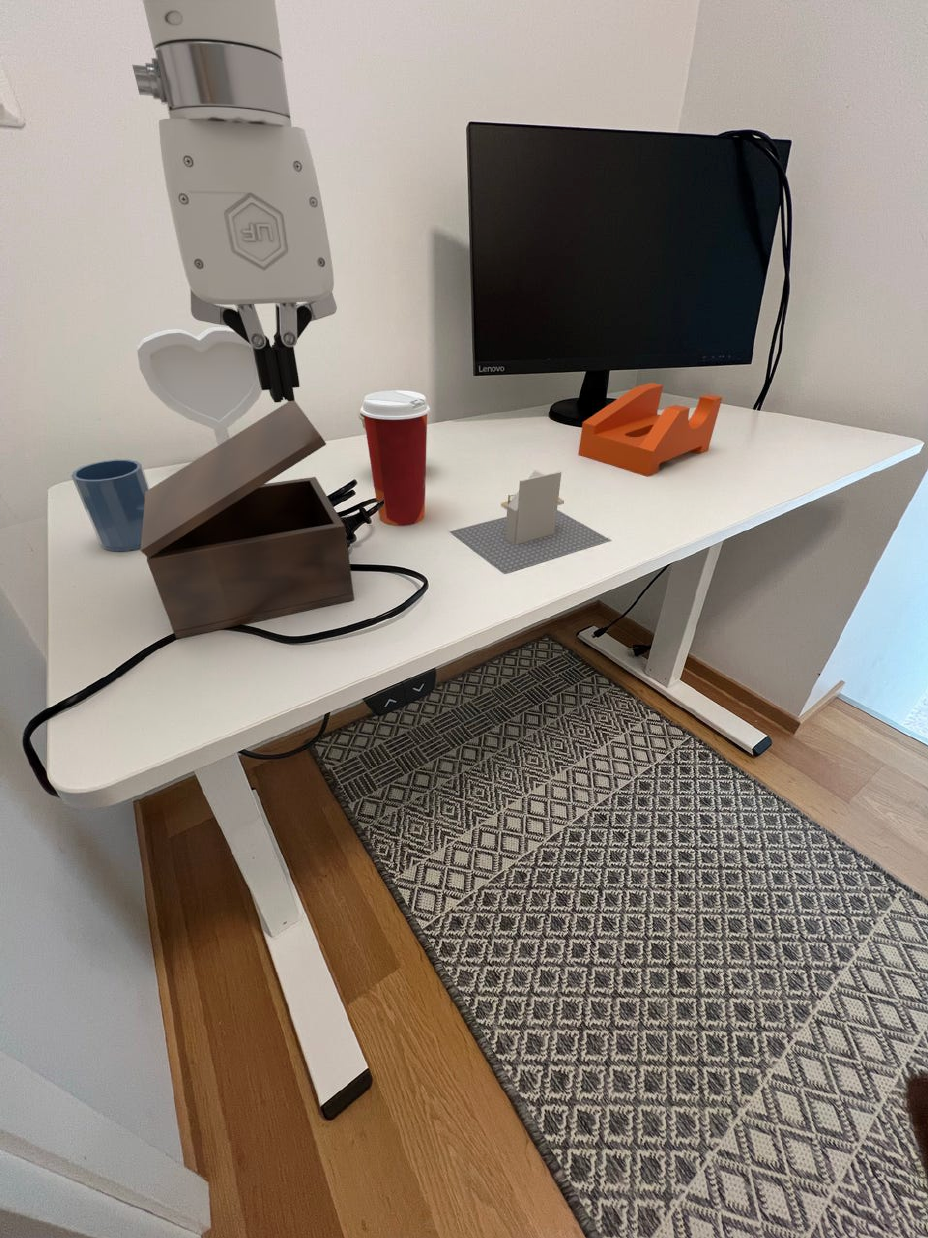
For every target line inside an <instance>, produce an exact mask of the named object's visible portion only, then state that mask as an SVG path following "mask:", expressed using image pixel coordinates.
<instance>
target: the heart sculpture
mask: <svg viewBox="0 0 928 1238" xmlns="http://www.w3.org/2000/svg"><path fill="white" fill-rule="evenodd" d="M136 350H137V351H136V352H137V358H138V365H139V370H140V371H141V374H142V376H143V378H144V380H145V382H146V384H147V386H148V388H149V390H150V391H151V392H152V394H154V395H155V396H156V397H157V398H158V399H159V400H160V401H161V402H162V403H163V404H164V405H165V406H166V407H167V408H168V409H170V410H172V411H174V412H175V413H177V414H179V415H181V416H182V417H184V418H186V419H188V420H190V421H193V422H195V423H198V424H199V425H202V426H206V427H207V428H210V429H212V430H213V431H214V435H215V439H216V443H217V446H219V445H220V444H222V443H224V442H225V441H227V440H228V439H230V438H231V437H230V435H229V430H228V429H229V428H230V427H231V426H232V425H233V424H235V423H236V422H237V421H239V419H241V418H242V417H243V416H245V415H246V414H247V413H248V412H249V410H250V409H251V408H252V407H253V406H255V404H256V403H257V401H258V400H259V399H260V397H261V394H262V392H263V390H262V389H261V386H260V382H259V377H258V372H257V367H256V362H255V357H254V352H253V347H252V345H251V344H249V343H248V342H247V341H246V340H244V339H243V338H242V337H241V336H240V335H238V334H237V333H236V332H235V331H234V330H232V329H231V328H230V327H225V326H210V327H208V328H206V329H204V330H203V331H201V333H199V334H198V335H197V336H196V335H195V334H193V333H191V332H188V331H187V330H184V329H180V328H173V329H172V328H169V329H164V330H161V331H157V332H154V333H152V334H150V335H148V336H146V337H144V338H142V339H141V341H140V342H139V343H138V344H137V346H136ZM187 465H188V464H186V465H183V466H182V468H184V467H185V466H187Z"/></svg>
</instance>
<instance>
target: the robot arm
mask: <svg viewBox="0 0 928 1238" xmlns="http://www.w3.org/2000/svg"><path fill="white" fill-rule="evenodd" d="M142 3H143V8H144V12H145V16H146V21H147V25H148V29H149V33H150V38H151V43H152V46H153V50H154V55H155V57H151V63H150V62H149V63H148V62H145V63H144V64H145V65H141V64H140V65H139V64H132V69H133V73H134V77H135V82H136V86H137V91H138V94H139V96H147V97H148V96H149V97H152V98H153V100H159V101H160V102H161V105H164V106H166V109H167V114H168V117H169V118H164V119H163V118H162V119H159V120H158V130H159V140H160V141H159V142H160V143H159V145H160V151H161V152H160V154H161V160H162V168H163V172H164V173H163V174H164V180H165V186H166V193H167V196H168V202H169V206H170V211H171V216H172V221H173V222H172V223H173V227H174V230H175V237H176V241H177V245H178V250H179V254H180V258H181V262H182V266H183V270H184V274H185V277H186V279H187V283H188V285H189V291H190V295H189V296H190V314H191V316H192V317H193V318H194V319H195V320H196V321H199V322H204V323H210V324H215V325H219V326H224V327H225V326H226V327H228V328H231V329H232V330H234V331H235V332H236V333H237V334H238V335H240V336H241V337H242V338H243V339H244V340H246V341H247V342H248V343H249V344H251V345H252V347H253V352H254V357H255V362H256V367H257V372H258V377H259V382H260V386H261V389H262V391H268V392H269V395H270V397H271V399H272V400H273V402H274V403H282V401H284V400H285V401H287V402H289V401H295V402H296V400H295V399H296V398H295V393H294V389H295V388H300V378H299V371H298V365H297V360H296V354H295V346H296V345H297V343H298V339H300V337H301V336H302V334H303V332H304V331H305V329H307V327H308V326H309V324H310V323H311V322H313V321H318V320H320V319H323V318H326V317H329V316H332V315H334V314H336V313H337V307H338V305H337V303H336V300H335V297H334V294H333V291H334V281H335V280H334V279H335V278H334V268H333V262H332V261H333V260H332V254H331V248H330V242H329V237H328V230H327V229H328V228H327V225H326V218H325V212H324V207H323V201H322V196H321V192H320V187H319V181H318V177H317V173H316V167H315V163H314V160H313V156H312V151H311V148H310V144H309V141H308V137H307V134H306V130H305V129H304V128H302V127H298V126H292V119H291V111H290V104H289V96H288V89H287V81H286V73H285V67H284V62H283V61H284V58H283V51H282V44H281V40H280V29H279V22H278V13H277V6H276V0H142ZM297 303H298V304H297ZM299 303H300V304H299ZM260 304H261V305H262V304H274V312H275V316H274V317H275V333H274V335H273V340H274V341H273V344H271V342H270V338H268V336H266V335H265V333H264V330H263V326H262V323H261V321H260V317H259V314H258V311H257V307H256V306H255V305H260ZM224 305H225V306H224ZM229 305H234V307H235V309H234V308H233V307H231V306H229Z"/></svg>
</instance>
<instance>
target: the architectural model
mask: <svg viewBox="0 0 928 1238" xmlns="http://www.w3.org/2000/svg"><path fill="white" fill-rule="evenodd" d="M561 481H562V471H557V472H553V473H548V474H544V473H543V472H541V471H539V470H537V469H534V470H533V472H532V473H531V474H530V476H529V477H528V478H526V479H522V480H519V488H518V491H517V492H516V493H515V494H512V495H511V494H508V497H507V501H504V502H501V503H500V507H501V508H503V509H504V510H506V516H504V517H500V518H495V519H491V520H489V521H488V520H487V521H484V522H480V523H477V524H472V525H469V526H465V527H461V528H457V529H454V530H450V531H449V532H450V533H451V534H452V535H453V536H455V537H456V538H457V539H458V540H460V541H461V542H462V543H464V544H465V545H466V546H468V547H469V548H470V549H472V550H473V551H474V552H476V553H477V554H478V555H479V556H481V557H482V558H483V559H485V560H486V561H487V562H489V563H490V564H491V565H493V566H494V567H495V568H496V569H498V570H499V571H500V572H501V573H503V574H504V575H505V574H508V573H509V574H510V573H512V572H514V571H519V570H521V569H525V568H528V567H531V566H533V565H537V564H540V563H543V562H547V561H549V560H553V559H556V558H559V557H563V556H566V555H569V554H573V553H576V552H578V551H581V550H585V549H588V548H591V547H594V546H598V545H601V544H603V543H607V542H611V539H610V538H608V537H606V536H605V535H603V534H601V533H599V532H597V530H594V529H592V528H591V527H589V526H587V525H585V524H583V523H582V522H580V521H578V520H577V519H575V518H573V517H571V516H569V515H568V514H566V513H564V512H563V511H561V510H558V506H560V505H564V504H565V500H564V499H562V498H560V497H559V496H560V489H561V488H560V487H561ZM511 497H512V498H511Z"/></svg>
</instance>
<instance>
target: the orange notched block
mask: <svg viewBox="0 0 928 1238" xmlns="http://www.w3.org/2000/svg"><path fill="white" fill-rule="evenodd" d="M663 388H664V385H663V384H659V383H653V382H648V383H645V384H641V385H637V386H634V387H633V388H631V389H630V390H629V391H627V392H626V393H624V394H622V395H621V396H619V397H618V398H617V399H615V400H614V401H613V402H611V403H609V404H608V405H606V406H605V407H604V408H601V410H599V411H598V412H596V413H594V414H593V415H592V416H590V417H588V418H587V419H586V420H584V421H582V425H581V433H580V440H579V447H578V454H577V455H579V456H582V457H585V458H588V459H592V460H593V461H596V462H597V461H598V462H600V463H604V464H607V465H610V466H613V467H617V468H620V469H623V470H626V471H628V472H632V473H635V474H638V475H642V476H645V477H650V476H652V475H655V474H657V473H658V472H659V467H660V464H662V463H665V462H667V461H669V460H671V459H674V458H676V457H678V456H681V455H684V454H686V453H688V452H692V453H695V454H698V455H701V454H703V453H705V452H707V451H709V448H710V445H711V441H712V437H713V433H714V429H715V426H716V422H717V419H718V415H719V412H720V408H721V405H722V400H723V396H719V395H714V394H705V395H701V396H699V399H698V401H697V405H696V407H695V409H694V412H693V413H692V415H691V417H690V418H689V416H690V410H691V407H688V406H683V405H679V404H673V405H670V406H667V407H665V408H664V410H663V411H662V413H661V414H659V413H658V412H659V408H660V402H661V398H662V392H663Z"/></svg>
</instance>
